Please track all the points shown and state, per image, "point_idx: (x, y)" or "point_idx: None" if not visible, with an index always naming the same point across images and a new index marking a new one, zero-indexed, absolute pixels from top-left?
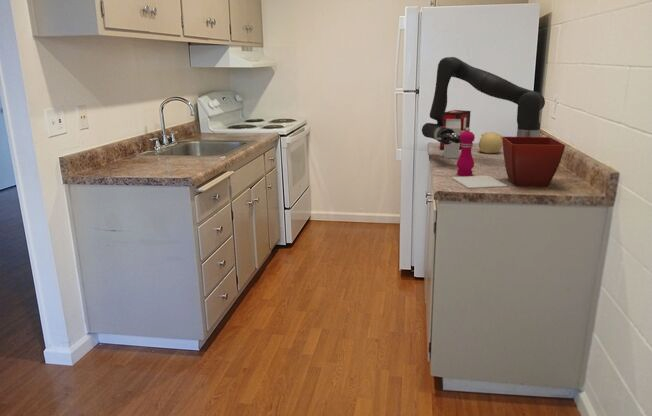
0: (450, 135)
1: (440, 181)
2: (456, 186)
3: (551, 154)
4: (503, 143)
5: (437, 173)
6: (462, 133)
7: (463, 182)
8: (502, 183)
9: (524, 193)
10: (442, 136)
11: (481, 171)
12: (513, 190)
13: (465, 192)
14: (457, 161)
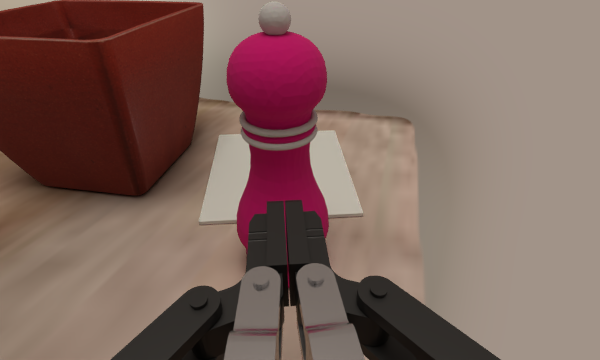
0: (339, 326)
1: (408, 184)
2: (362, 146)
3: (101, 32)
4: (130, 63)
5: (420, 293)
6: (314, 45)
7: (333, 160)
8: (218, 148)
9: (218, 108)
10: (474, 344)
11: (154, 318)
12: (227, 120)
13: (349, 116)
14: (326, 209)
